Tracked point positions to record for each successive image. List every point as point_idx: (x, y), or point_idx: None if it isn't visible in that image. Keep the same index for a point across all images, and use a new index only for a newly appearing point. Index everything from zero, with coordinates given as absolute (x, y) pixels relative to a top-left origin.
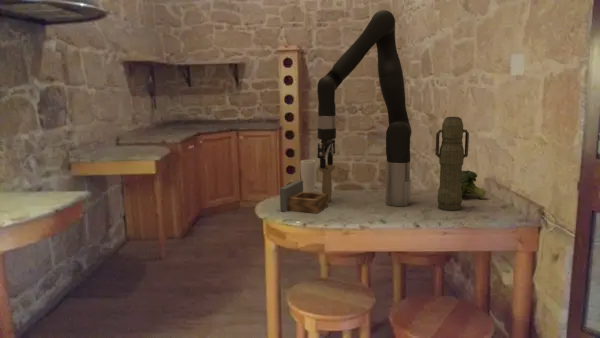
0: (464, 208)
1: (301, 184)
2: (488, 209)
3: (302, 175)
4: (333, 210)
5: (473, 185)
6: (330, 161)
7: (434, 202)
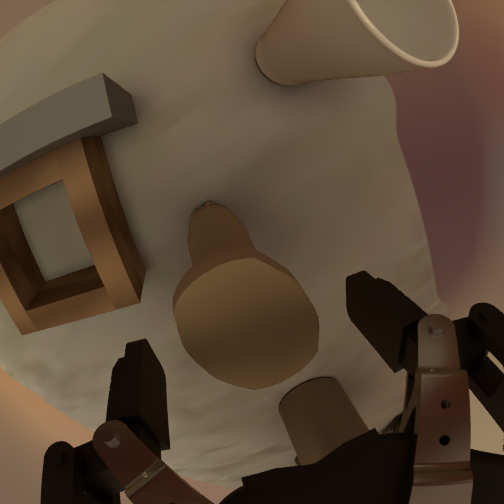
0: None
1: (89, 129)
2: None
3: (285, 3)
4: (109, 325)
5: None
6: (365, 320)
7: None
